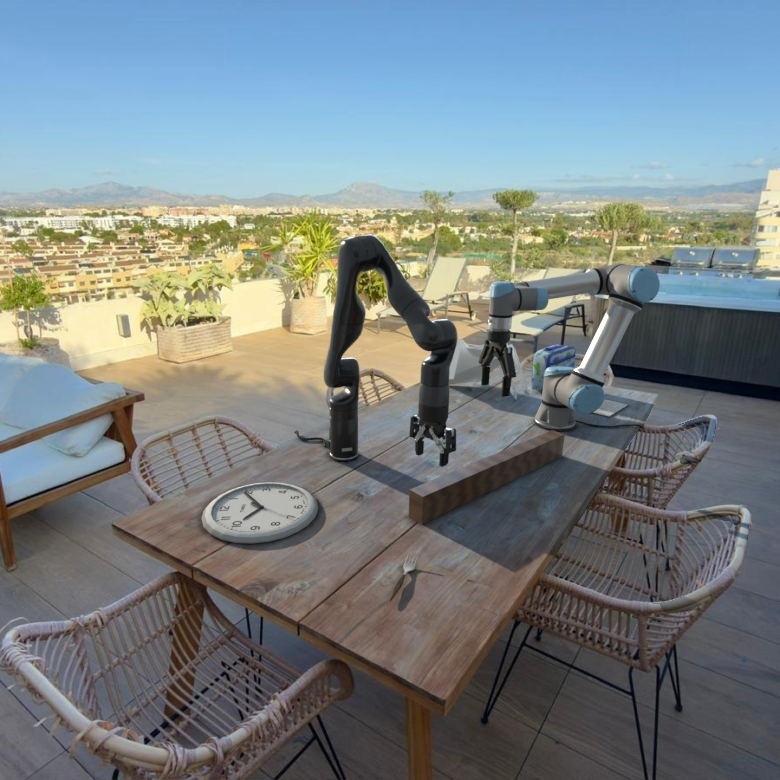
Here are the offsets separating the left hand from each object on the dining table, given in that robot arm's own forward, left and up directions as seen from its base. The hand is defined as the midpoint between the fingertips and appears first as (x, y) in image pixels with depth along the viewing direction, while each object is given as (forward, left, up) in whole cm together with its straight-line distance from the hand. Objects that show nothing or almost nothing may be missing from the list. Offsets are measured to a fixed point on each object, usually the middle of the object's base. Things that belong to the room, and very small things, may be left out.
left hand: (431, 459), depth 135 cm
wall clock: (-26, -36, -16) cm, 47 cm away
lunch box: (-56, +121, -16) cm, 134 cm away
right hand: (-25, +48, +4) cm, 54 cm away
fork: (+18, -22, -16) cm, 33 cm away
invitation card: (-27, +119, -16) cm, 123 cm away
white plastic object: (-71, +88, -16) cm, 114 cm away
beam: (-3, +28, -16) cm, 32 cm away
